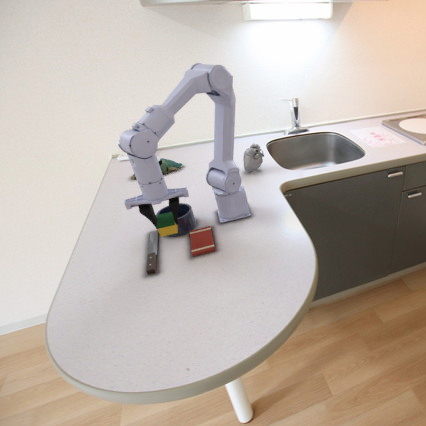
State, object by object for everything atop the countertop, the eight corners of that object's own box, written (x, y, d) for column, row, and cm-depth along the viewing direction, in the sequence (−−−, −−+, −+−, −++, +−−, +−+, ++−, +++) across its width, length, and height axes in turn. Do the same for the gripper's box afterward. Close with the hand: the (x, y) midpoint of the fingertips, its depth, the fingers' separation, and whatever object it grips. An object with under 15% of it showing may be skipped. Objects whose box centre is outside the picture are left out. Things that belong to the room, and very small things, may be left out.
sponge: (177, 221, 87) (173, 211, 85) (177, 233, 82) (174, 222, 80) (161, 225, 86) (157, 214, 84) (160, 237, 81) (156, 226, 79)
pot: (195, 215, 101) (190, 200, 98) (197, 231, 93) (192, 215, 90) (161, 222, 98) (156, 207, 95) (161, 239, 90) (155, 224, 87)
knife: (158, 231, 94) (156, 227, 93) (156, 272, 78) (154, 268, 78) (150, 233, 93) (148, 229, 92) (147, 275, 78) (145, 271, 77)
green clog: (132, 172, 131) (128, 160, 129) (183, 164, 138) (180, 153, 135) (131, 181, 124) (127, 169, 121) (184, 173, 131) (181, 161, 128)
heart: (252, 162, 135) (245, 137, 127) (270, 165, 131) (264, 140, 123) (239, 175, 129) (229, 149, 121) (257, 178, 125) (249, 153, 117)
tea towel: (210, 227, 94) (210, 225, 94) (215, 250, 85) (214, 248, 85) (190, 232, 93) (189, 230, 92) (192, 256, 83) (191, 254, 83)
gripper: (115, 192, 70) (136, 240, 78) (182, 179, 75) (196, 225, 82) (119, 180, 76) (138, 225, 83) (181, 168, 80) (195, 212, 88)
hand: (167, 224), depth 83 cm, fingers closed on sponge, 4 cm apart
